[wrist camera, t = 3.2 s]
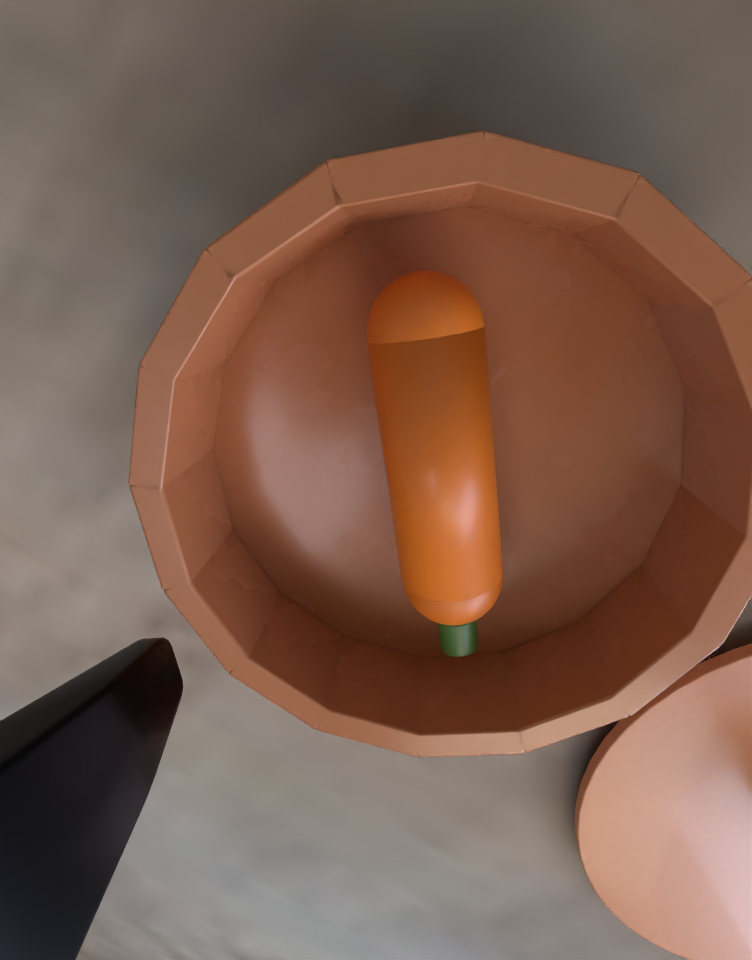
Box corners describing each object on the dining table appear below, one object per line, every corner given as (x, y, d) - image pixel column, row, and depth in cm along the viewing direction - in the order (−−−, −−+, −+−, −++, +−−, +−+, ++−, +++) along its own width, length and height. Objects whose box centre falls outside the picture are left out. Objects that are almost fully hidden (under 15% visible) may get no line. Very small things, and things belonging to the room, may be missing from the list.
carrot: (364, 280, 15) (350, 280, 12) (474, 263, 14) (486, 259, 12) (413, 620, 18) (410, 681, 16) (501, 614, 18) (515, 676, 15)
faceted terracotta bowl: (729, 121, 13) (845, 61, 9) (695, 654, 18) (760, 746, 15) (133, 229, 15) (40, 213, 12) (254, 679, 20) (216, 765, 17)
